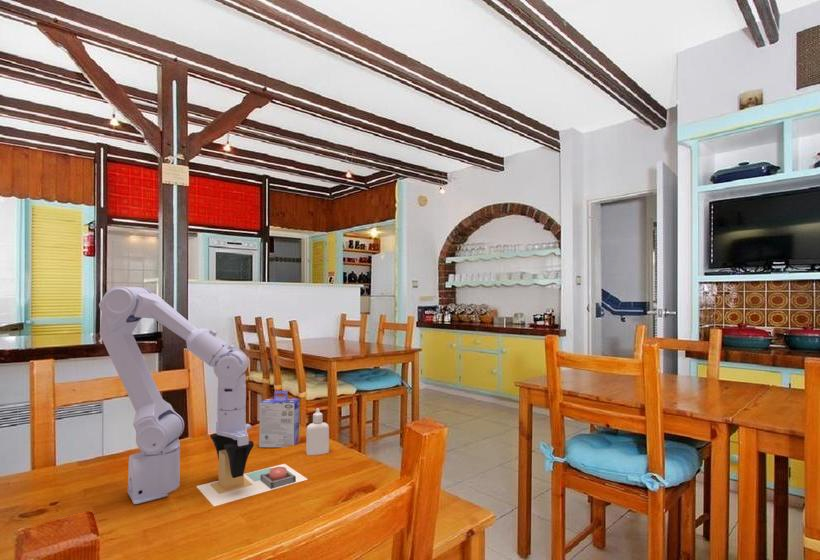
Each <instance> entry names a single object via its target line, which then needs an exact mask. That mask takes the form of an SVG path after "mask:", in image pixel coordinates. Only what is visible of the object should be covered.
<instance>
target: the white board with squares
mask: <svg viewBox="0 0 820 560" xmlns="http://www.w3.org/2000/svg"><path fill="white" fill-rule="evenodd" d="M275 467H285V468H286V469H287V478H283V479H280V480H276V481H271V480H270V479H269V471H270V469H272V468H275ZM307 480H308V478H307V477H306V476H304V475H303V474H301V473H299V472H297V470H295V469H293V468H292V467H290V466H289V465H287V464H286V463H283V464H282V463H281V464H279V465H275V466H269V467H266V468H263V469H262V468H261V469H259V470H254V471H251V472H247V473H244V485H241V486H237V487H233V488H230V489H226V490H224V489H223V488H222V487H221V486H220V485H219V479H218V480H216V481H211V482H207V483H204V484H200V485H196V488H197V489H198V491H200V493H202V495H203V496H204V497H205V498H206V500H207V501H208V502H210V504H211V505H212V506H213V507H217V506H221V505H224V504H228V503H230V502H231V503H232V502H235V501H238V500H242V499H245V498H248V497H252V496H255V495H259V494H262V493H263V494H264V493H265V492H269V491H273V490H277V489H280V488H283V487H286V486H290V485H293V484H297V483H302V482H304V481H307Z"/></svg>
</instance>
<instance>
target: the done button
mask: <svg viewBox="0 0 820 560" xmlns="http://www.w3.org/2000/svg"><path fill="white" fill-rule="evenodd" d="M283 478H287V469H286V468H285V467H275V468H272V469H270V471H269V479H270V480H271V481H276V480H280V479H283Z"/></svg>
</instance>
